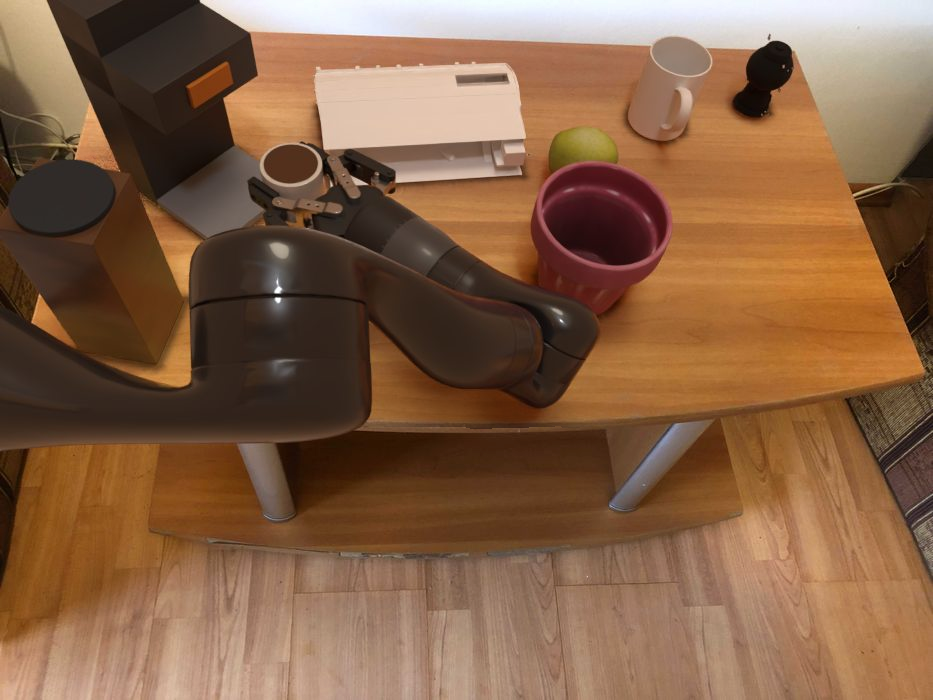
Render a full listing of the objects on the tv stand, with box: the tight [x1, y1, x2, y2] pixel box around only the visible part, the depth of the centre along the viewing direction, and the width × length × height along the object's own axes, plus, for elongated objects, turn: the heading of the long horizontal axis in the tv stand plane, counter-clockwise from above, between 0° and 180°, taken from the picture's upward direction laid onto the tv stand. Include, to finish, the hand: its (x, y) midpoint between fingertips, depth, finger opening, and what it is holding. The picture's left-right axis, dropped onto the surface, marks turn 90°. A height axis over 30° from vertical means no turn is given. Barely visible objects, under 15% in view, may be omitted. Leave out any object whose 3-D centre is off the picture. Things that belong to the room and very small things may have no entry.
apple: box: [548, 126, 619, 175], centre depth 90 cm, size 8×9×8 cm
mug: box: [627, 35, 713, 142], centre depth 95 cm, size 12×8×10 cm, turn 0°
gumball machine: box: [732, 33, 795, 119], centre depth 99 cm, size 7×6×10 cm
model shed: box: [312, 61, 527, 188], centre depth 92 cm, size 25×15×7 cm, turn 100°
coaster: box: [8, 158, 116, 237], centre depth 60 cm, size 8×8×1 cm
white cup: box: [259, 142, 326, 227], centre depth 76 cm, size 6×6×9 cm
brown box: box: [0, 157, 184, 365], centre depth 69 cm, size 8×8×19 cm
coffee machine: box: [45, 0, 266, 240], centre depth 77 cm, size 16×12×24 cm
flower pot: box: [530, 161, 674, 316], centre depth 79 cm, size 14×14×13 cm
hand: (275, 167), depth 74 cm, fingers closed on white cup, 6 cm apart
